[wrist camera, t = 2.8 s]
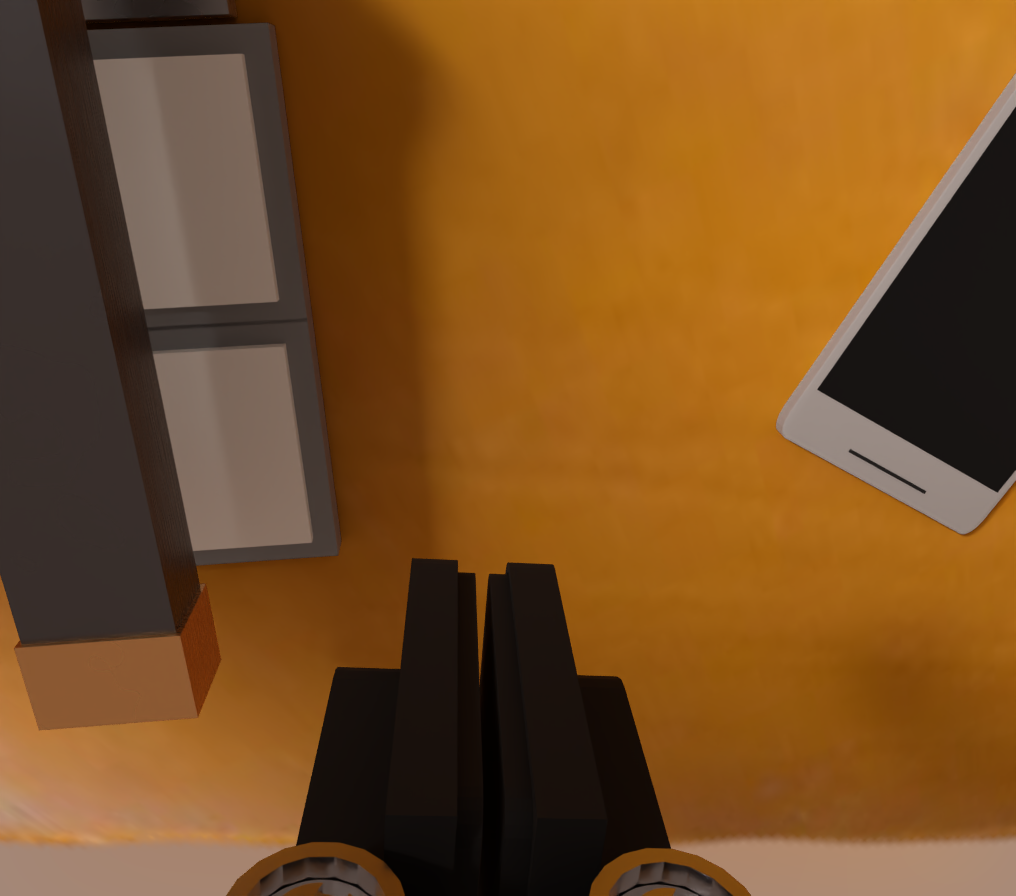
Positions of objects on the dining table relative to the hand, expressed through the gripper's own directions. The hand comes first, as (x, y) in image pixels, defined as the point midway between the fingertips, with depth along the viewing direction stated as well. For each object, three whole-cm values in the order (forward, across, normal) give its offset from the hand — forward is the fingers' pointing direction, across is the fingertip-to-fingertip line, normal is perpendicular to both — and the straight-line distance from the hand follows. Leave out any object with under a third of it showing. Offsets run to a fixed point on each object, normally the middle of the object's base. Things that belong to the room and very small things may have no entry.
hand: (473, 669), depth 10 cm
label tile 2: (+13, +8, -4) cm, 16 cm away
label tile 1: (+13, +7, +2) cm, 15 cm away
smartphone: (+14, -15, -4) cm, 21 cm away
